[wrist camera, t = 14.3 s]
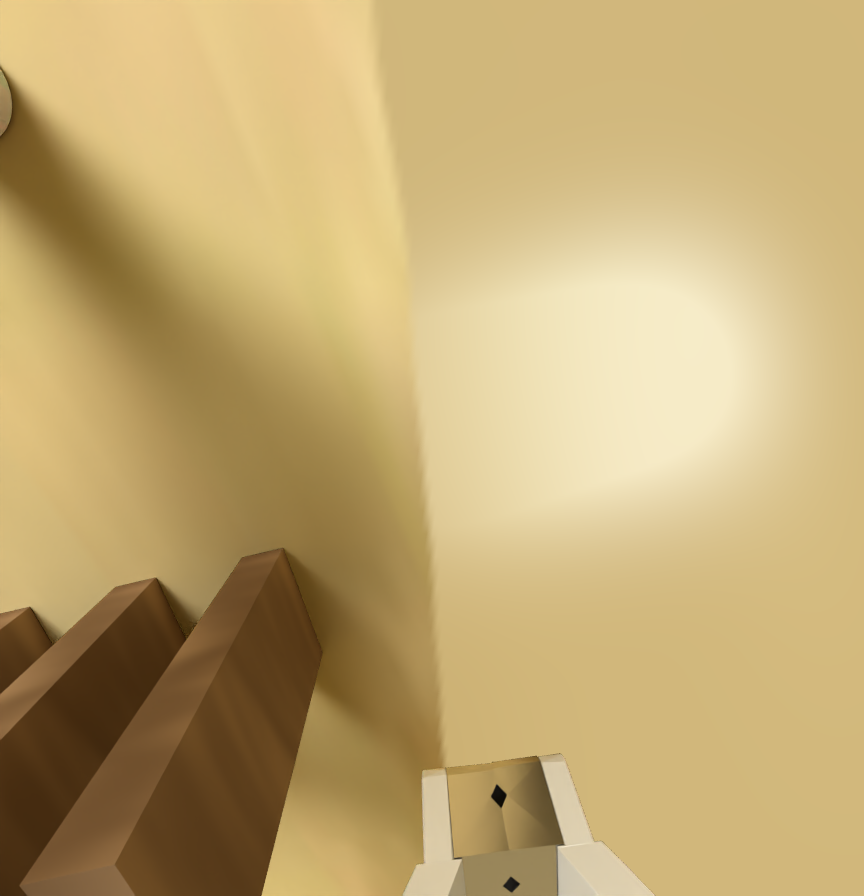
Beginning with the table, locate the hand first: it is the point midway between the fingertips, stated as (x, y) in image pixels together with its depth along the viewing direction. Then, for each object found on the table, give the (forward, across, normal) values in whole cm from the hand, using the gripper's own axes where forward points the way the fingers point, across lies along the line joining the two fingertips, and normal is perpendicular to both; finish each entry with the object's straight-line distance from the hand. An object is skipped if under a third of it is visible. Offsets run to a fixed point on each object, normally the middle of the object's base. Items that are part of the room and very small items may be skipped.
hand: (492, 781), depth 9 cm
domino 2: (+8, +7, +1) cm, 11 cm away
